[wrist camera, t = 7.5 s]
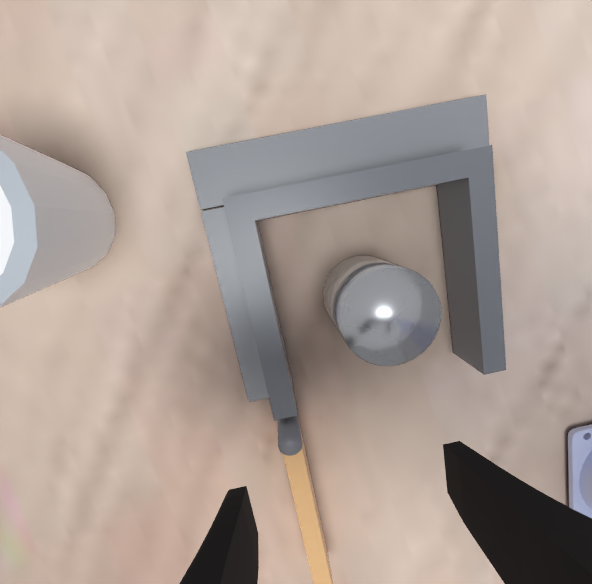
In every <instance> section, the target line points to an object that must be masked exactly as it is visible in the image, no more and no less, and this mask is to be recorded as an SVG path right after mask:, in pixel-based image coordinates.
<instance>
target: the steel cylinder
mask: <svg viewBox="0 0 592 584" xmlns="http://www.w3.org/2000/svg"><path fill="white" fill-rule="evenodd" d="M323 300H324V305H325V307H326V310H327V312H328V314H329V315H330V317H331V318H332V320H333V322H334V323H335V325H336V327H337V328H338V330H339V331H340V333H341V335H342V336H343V338H344V340H345V341H346V343H347V344H348V346H349V347H350V349H351V350H352V351H353V352H354V353H355V354H356V355H357V356H358V357H360V358H361V359H363V360H365V361H367V362H369V363H372V364H375V365H380V366H393V365H399V364H403V363H406V362H408V361H410V360H412V359H414V358H416V357H417V356H419V355H420V354H421V353H422V352H423V351H425V350H426V349H427V347H428V346H429V345H430V344H431V342H432V341H433V339H434V338H435V336H436V334H437V331H438V329H439V325H440V321H441V305H440V300H439V297H438V294H437V292H436V290H435V289H434V287H433V286H432V284H431V283H430V282H429V281H428V280H427V279H426V278H424V277H423V276H422V275H420V274H419V273H417V272H414V271H412V270H409V269H407V268H404V267H401V266H398V265H395V264H392V263H389V262H387V261H384V260H381V259H378V258H375V257H372V256H366V255H359V256H354V257H350V258H348V259H345V260H344V261H342V262H340V263H339V264H338V265H336V266H335V267H334V268H333V270H332V271H331V272H330V274H329V275H328V277H327V279H326V281H325V285H324V290H323Z"/></svg>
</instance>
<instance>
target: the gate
mask: <svg viewBox="0 0 592 584" xmlns="http://www.w3.org/2000/svg"><path fill="white" fill-rule="evenodd" d="M295 403H296V401H295ZM296 410H297V416H293V417H288V418H284V419H279V420H278V447H279V450H280V451H281V452H282V453H283V456H284V460H285V465H286V469H287V473H288V477H289V482H290V486H291V490H292V494H293V499H294V503H295V507H296V511H297V516H298V520H299V524H300V528H301V533H302V537H303V541H304V545H305V550H306V554H307V558H308V562H309V567H310V571H311V575H312V579H313V584H333V581H332V575H331V569H330V563H329V557H328V552H327V548H326V543H325V538H324V534H323V529H322V525H321V520H320V515H319V511H318V506H317V502H316V497H315V493H314V488H313V483H312V479H311V474H310V470H309V465H308V460H307V456H306V451H305V447H304V442H303V437H302V433H301V428H300V423H299V415H298V408H297V403H296Z"/></svg>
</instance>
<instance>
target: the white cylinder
mask: <svg viewBox="0 0 592 584" xmlns="http://www.w3.org/2000/svg"><path fill="white" fill-rule="evenodd" d="M114 237H115V213H114V211H113V209H112V207H111V204H110V202H109V200H108V197H107V195H106V193H105V192H104V191H103V190H102V189H101V188H100V187H99V185H98V184H97V183H96V182H95V181H94V180H93V179H92V178H91V177H90V176H89V175H87V174H85V173H83V172H81V171H79V170H77V169H75V168H73V167H71V166H69V165H66V164H64V163H62V162H60V161H58V160H55V159H53V158H51V157H49V156H46V155H44V154H42V153H40V152H38V151H35V150H33V149H31V148H29V147H26V146H24V145H22V144H20V143H17V142H15V141H13V140H11V139H9V138H6V137H4V136H2V135H0V307H3V306H5V305H7V304H9V303H12V302H14V301H16V300H19V299H21V298H23V297H25V296H28V295H30V294H32V293H35V292H37V291H39V290H41V289H44V288H46V287H48V286H51V285H53V284H55V283H58V282H60V281H62V280H64V279H67V278H69V277H71V276H74V275H76V274H78V273H80V272H83V271H85V270H87V269H90V268H92V267H94V266H95V265H96V264H97V263H98V262H99V261H100V260H101V259H102V258H103V257H104V256H106V255H107V254H108V251H109V249H110V246H111V244H112V242H113V239H114Z"/></svg>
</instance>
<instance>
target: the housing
mask: <svg viewBox="0 0 592 584" xmlns="http://www.w3.org/2000/svg"><path fill="white" fill-rule="evenodd" d="M186 154H187V158H188V162H189V166H190V170H191V174H192V178H193V182H194V186H195V190H196V194H197V198H198V202H199V206H200V210H206V209H211V208H216V207H221V206H224V207H221V208H216V209H211V210H206V211H201V214H202V218H203V222H204V226H205V230H206V234H207V238H208V242H209V246H210V250H211V254H212V258H213V262H214V266H215V270H216V274H217V278H218V282H219V286H220V290H221V294H222V298H223V302H224V306H225V309H226V313H227V317H228V321H229V325H230V329H231V333H232V337H233V341H234V345H235V349H236V353H237V357H238V361H239V365H240V369H241V373H242V377H243V381H244V385H245V389H246V393H247V397H248V401H249V402H251V401H256V400H261V399H265V398H269V400H270V404H271V409H272V413H273V417H274V421H275V420H279V419H284V418H288V417H293V416H297V410H296V403H295V395H294V388H293V383H292V378H291V374H290V369H289V364H288V360H287V355H286V351H285V346H284V341H283V337H282V332H281V328H280V323H279V318H278V314H277V309H276V304H275V300H274V295H273V291H272V286H271V281H270V277H269V272H268V267H267V263H266V258H265V254H264V249H263V244H262V240H261V235H260V230H259V226H258V221H259V220H264V219H269V218H274V217H279V216H284V215H289V214H294V213H299V212H304V211H309V210H314V209H319V208H324V207H329V206H334V205H339V204H344V203H349V202H354V201H359V200H364V199H369V198H374V197H379V196H384V195H389V194H394V193H399V192H404V191H409V190H414V189H419V188H424V187H429V186H434V185H437V193H438V203H439V213H440V224H441V234H442V244H443V254H444V264H445V274H446V284H447V294H448V305H449V315H450V325H451V335H452V345H453V353H454V354H456V355H457V356H459V357H460V358H461V359H463V360H464V361H466V362H467V363H468V364H470V365H471V366H473V367H474V368H476V369H477V370H478V371H480V372H481V373H483V374H489V373H494V372H498V371H503V370H506V361H505V345H504V329H503V313H502V297H501V280H500V264H499V248H498V232H497V216H496V200H495V184H494V168H493V152H492V145H490V146H489V132H488V117H487V101H486V95H480V96H475V97H470V98H465V99H460V100H454V101H449V102H444V103H439V104H434V105H428V106H423V107H418V108H413V109H408V110H402V111H397V112H392V113H387V114H382V115H376V116H371V117H366V118H361V119H356V120H350V121H345V122H340V123H335V124H330V125H325V126H319V127H314V128H309V129H304V130H299V131H293V132H288V133H283V134H278V135H273V136H267V137H262V138H257V139H252V140H247V141H241V142H236V143H231V144H226V145H221V146H215V147H210V148H205V149H200V150H195V151H189V152H186Z"/></svg>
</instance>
